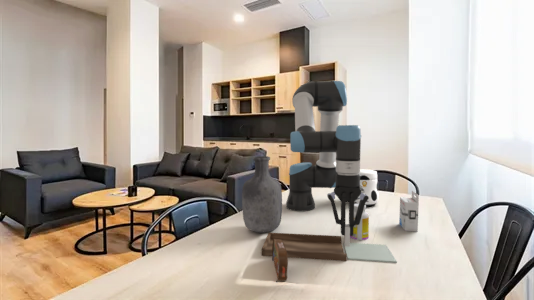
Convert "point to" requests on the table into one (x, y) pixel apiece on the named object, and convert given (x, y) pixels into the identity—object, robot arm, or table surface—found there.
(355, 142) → the robot arm
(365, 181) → the milk container
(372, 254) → the cover plate
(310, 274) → the table surface
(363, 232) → the supplement bottle
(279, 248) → the tin
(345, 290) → the table surface
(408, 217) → the ink box
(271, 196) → the vase
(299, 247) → the walnut case
